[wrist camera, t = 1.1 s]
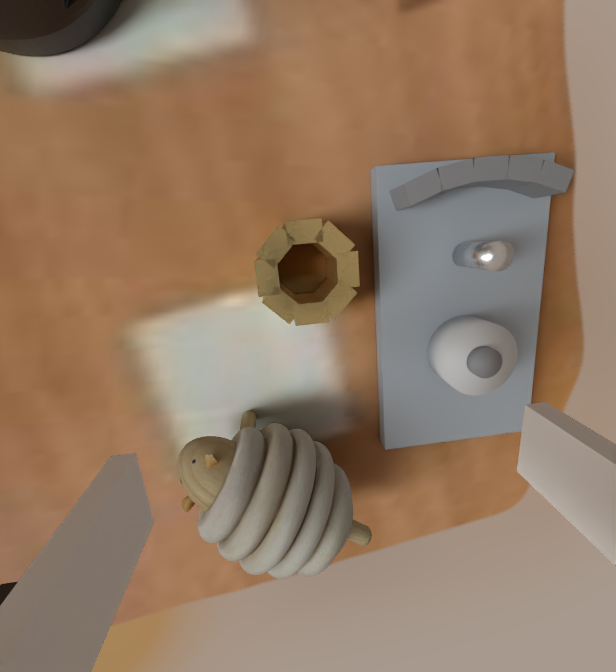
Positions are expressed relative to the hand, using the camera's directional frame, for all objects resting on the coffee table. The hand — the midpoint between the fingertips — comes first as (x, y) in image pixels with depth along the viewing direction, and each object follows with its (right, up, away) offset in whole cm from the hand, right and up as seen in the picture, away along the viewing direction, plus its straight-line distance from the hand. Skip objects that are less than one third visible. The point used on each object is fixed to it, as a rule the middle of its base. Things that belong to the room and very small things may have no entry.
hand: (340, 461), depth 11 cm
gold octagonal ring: (-2, +10, +16) cm, 19 cm away
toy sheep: (-4, -7, +21) cm, 22 cm away
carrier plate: (+12, +6, +18) cm, 23 cm away
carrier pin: (+11, +11, +16) cm, 22 cm away
